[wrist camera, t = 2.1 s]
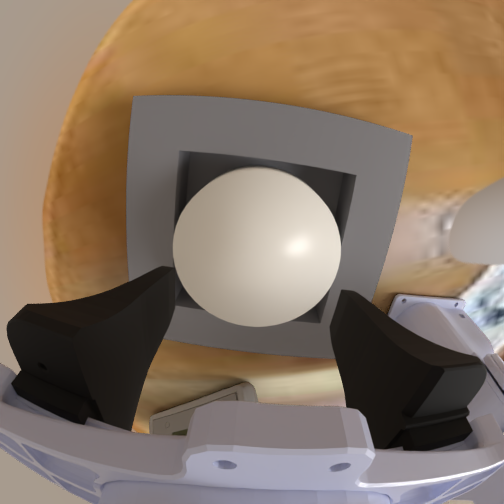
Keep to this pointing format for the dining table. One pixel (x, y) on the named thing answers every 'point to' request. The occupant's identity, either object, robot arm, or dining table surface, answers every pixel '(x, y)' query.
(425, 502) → the robot arm
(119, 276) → the dining table surface
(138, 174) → the button housing
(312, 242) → the button cap
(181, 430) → the digital clock
